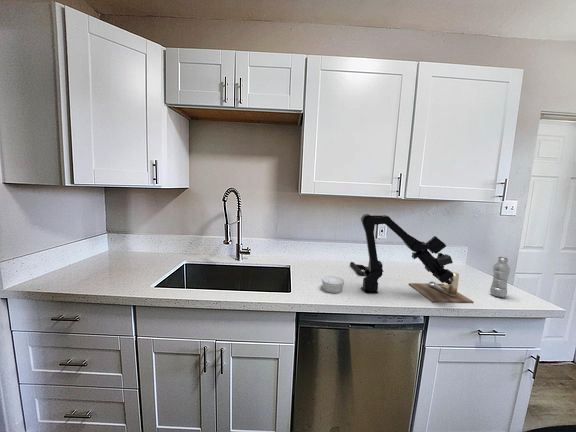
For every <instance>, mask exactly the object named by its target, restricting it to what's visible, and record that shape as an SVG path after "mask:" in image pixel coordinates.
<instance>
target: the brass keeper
mask: <svg viewBox="0 0 576 432" xmlns="http://www.w3.org/2000/svg"><path fill="white" fill-rule="evenodd" d="M441 288H442V289H445V290H448V289H449V284H447V283H446V284H445V285H443V286H441Z"/></svg>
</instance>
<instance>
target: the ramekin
mask: <svg viewBox="0 0 576 432" xmlns="http://www.w3.org/2000/svg"><path fill="white" fill-rule="evenodd" d="M321 282H322V288H323V290H324V291H325V292H327V293H331V294H338V293H340V292H342V291H343V288H344V284H345V280H344V279H343V278H342V277H339V276H335V275H326V276H323V277H322V278H321Z"/></svg>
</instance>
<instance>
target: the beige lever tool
mask: <svg viewBox="0 0 576 432" xmlns="http://www.w3.org/2000/svg"><path fill="white" fill-rule="evenodd" d="M451 272H452V271H451ZM452 273H453V274H454V276H453V277H451V278H450V279H449V280H450V282H451V284H448V285H449V289H448V290H445V289H442V288H441V286H438V285H437V284H438V283H436V282H435V281H428V283H427V284H428V286H429V287H433V288H436V289H437V290H439V291H441V292H443V293H445V294H447V295H449V296H455V295H457V292H458V287H459V277H460V274H459V273H457V272H452Z"/></svg>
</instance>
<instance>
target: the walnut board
mask: <svg viewBox="0 0 576 432" xmlns="http://www.w3.org/2000/svg"><path fill="white" fill-rule="evenodd" d="M436 284H437V285H438V286H443V285H446V283H436ZM408 286H410V287H411V288H412V289H414V290H415V291H416V292H418V293H419V294H421V295H422V296H423V297H424V298H426V299H427V300H428V301H430V302H431V303H435V304H436V303H440V304H442V303H445V304H447V303H449V304H450V303H451V304H474V303H475V302H474V301H473V300H472V299H470V298H468V297H467V296H465V295H463V294H462V293H460V292H458V291H457V295H455V296H449V295H447V294H445V293H443V292H441V291H439V290H437V289H436V288H433V287H429V286H428V283H426V282H425V283H419V282H415V283H414V282H409V283H408Z"/></svg>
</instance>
